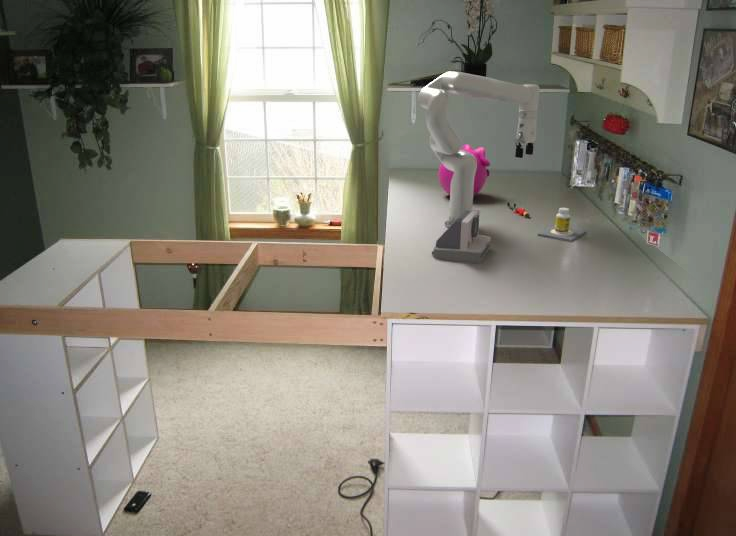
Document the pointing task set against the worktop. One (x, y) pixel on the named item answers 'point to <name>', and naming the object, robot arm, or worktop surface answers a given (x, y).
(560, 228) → the supplement bottle
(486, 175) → the figurine
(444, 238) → the grey angle bracket
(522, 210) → the person figure
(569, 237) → the card
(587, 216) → the worktop surface
